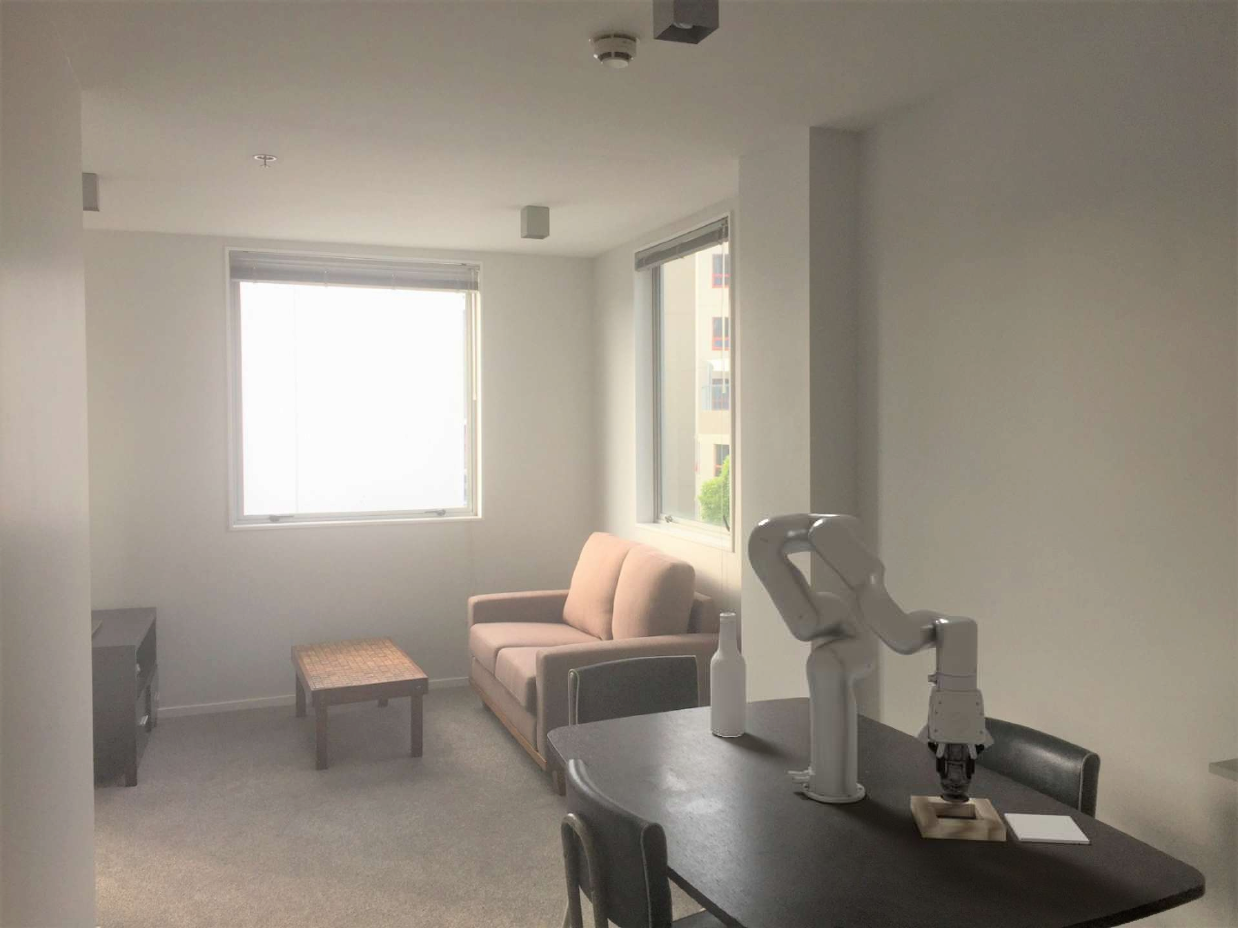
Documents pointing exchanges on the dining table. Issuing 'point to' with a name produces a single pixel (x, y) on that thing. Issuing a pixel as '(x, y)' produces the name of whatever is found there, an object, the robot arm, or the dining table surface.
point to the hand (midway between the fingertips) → (955, 775)
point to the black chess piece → (955, 776)
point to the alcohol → (728, 682)
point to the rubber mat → (1046, 828)
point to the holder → (979, 829)
